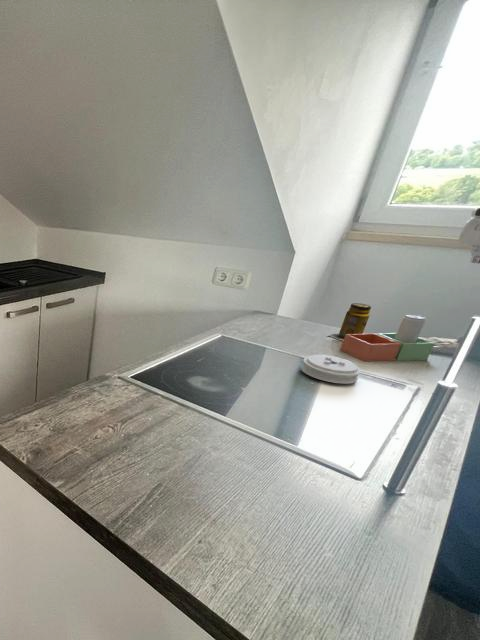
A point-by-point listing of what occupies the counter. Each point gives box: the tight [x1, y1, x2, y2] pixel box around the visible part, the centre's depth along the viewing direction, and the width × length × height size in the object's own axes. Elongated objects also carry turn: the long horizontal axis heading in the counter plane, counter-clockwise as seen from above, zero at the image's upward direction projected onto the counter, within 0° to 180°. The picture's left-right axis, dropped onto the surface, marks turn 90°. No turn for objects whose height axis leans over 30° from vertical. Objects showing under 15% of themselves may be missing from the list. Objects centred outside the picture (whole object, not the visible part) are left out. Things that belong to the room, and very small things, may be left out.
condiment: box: [328, 302, 372, 342], centre depth 134 cm, size 7×8×12 cm
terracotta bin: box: [339, 332, 401, 362], centre depth 122 cm, size 9×9×6 cm
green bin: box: [376, 332, 435, 362], centre depth 122 cm, size 9×9×6 cm
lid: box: [300, 354, 362, 384], centre depth 109 cm, size 13×13×5 cm
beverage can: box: [394, 313, 427, 343], centre depth 120 cm, size 5×5×12 cm
